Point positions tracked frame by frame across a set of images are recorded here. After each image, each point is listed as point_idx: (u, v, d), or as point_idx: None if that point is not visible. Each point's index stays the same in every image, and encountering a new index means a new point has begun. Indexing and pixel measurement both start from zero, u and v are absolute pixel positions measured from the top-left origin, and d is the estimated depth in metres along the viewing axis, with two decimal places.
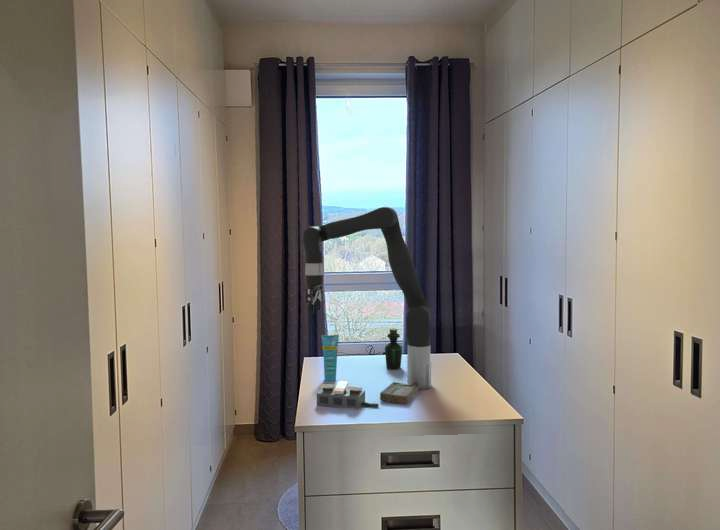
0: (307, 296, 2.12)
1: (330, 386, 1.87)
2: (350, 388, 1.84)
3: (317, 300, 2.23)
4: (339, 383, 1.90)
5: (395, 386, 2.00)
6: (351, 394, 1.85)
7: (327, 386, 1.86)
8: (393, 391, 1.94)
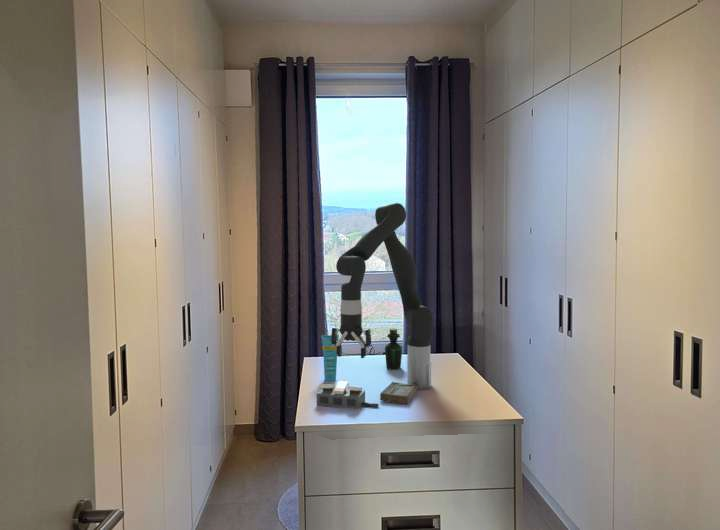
0: (369, 338, 1.81)
1: (330, 386, 1.87)
2: (350, 388, 1.84)
3: (340, 344, 1.84)
4: (339, 383, 1.90)
5: (394, 386, 2.00)
6: (351, 394, 1.85)
7: (327, 386, 1.86)
8: (393, 391, 1.94)
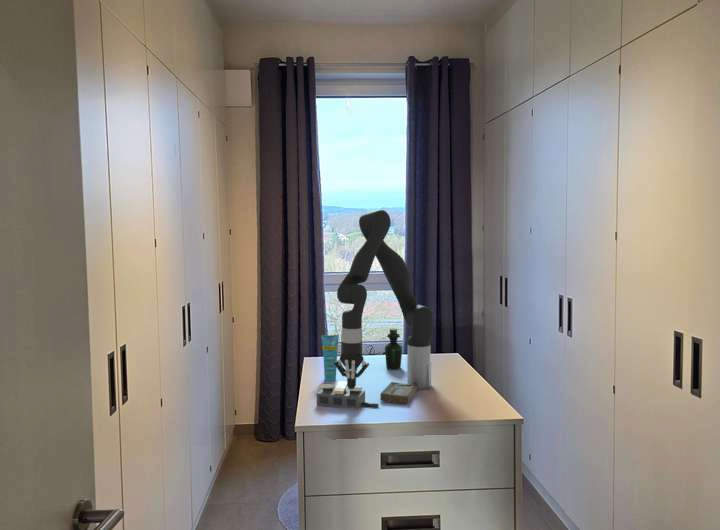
0: (363, 371, 1.81)
1: (330, 386, 1.87)
2: None
3: (350, 375, 1.83)
4: (339, 383, 1.90)
5: (394, 386, 2.00)
6: (351, 394, 1.85)
7: (327, 386, 1.86)
8: (393, 391, 1.93)
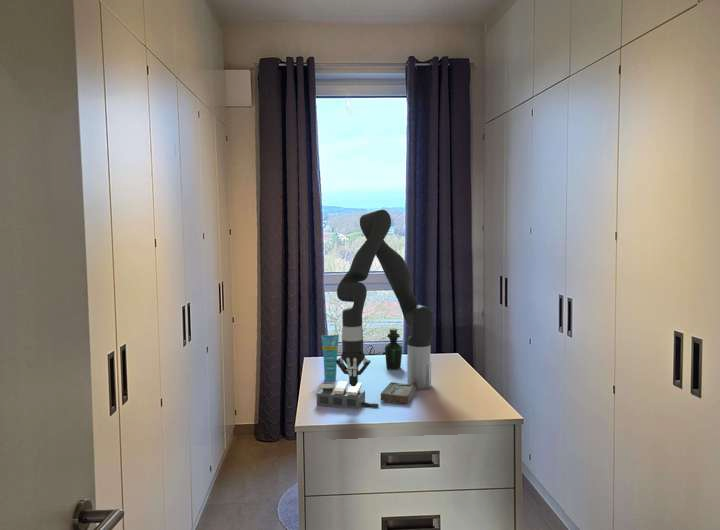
0: None
1: (330, 386, 1.87)
2: (350, 393, 1.84)
3: (352, 373, 1.83)
4: (339, 383, 1.90)
5: (393, 386, 2.00)
6: None
7: (327, 386, 1.86)
8: (393, 391, 1.93)
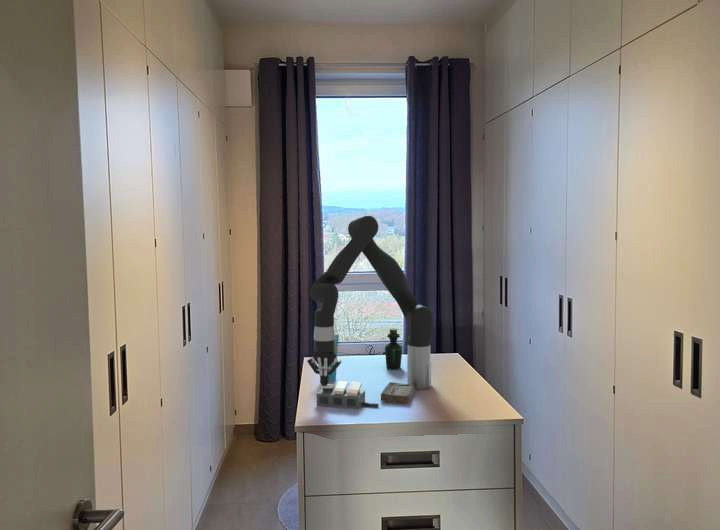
0: (335, 369, 1.85)
1: (330, 386, 1.87)
2: (350, 394, 1.84)
3: (323, 372, 1.86)
4: (339, 383, 1.90)
5: (393, 386, 2.00)
6: None
7: (327, 386, 1.86)
8: (393, 391, 1.93)
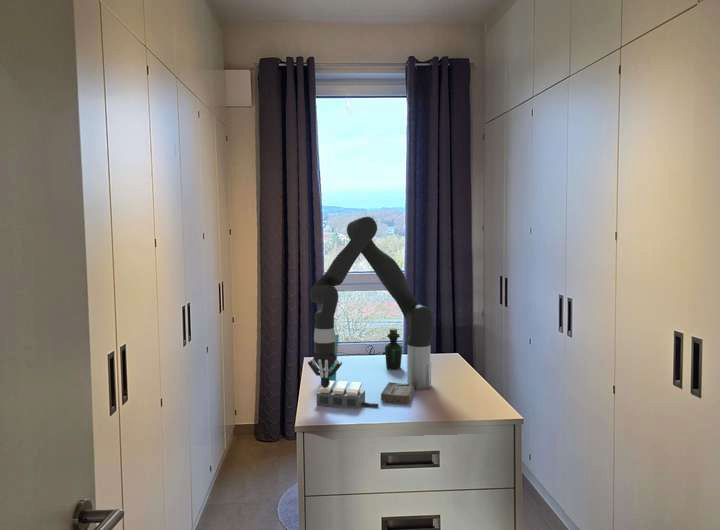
0: (336, 370, 1.85)
1: (330, 389, 1.87)
2: (350, 394, 1.84)
3: (324, 374, 1.86)
4: (339, 383, 1.90)
5: (392, 386, 2.00)
6: None
7: (326, 391, 1.86)
8: (393, 391, 1.93)
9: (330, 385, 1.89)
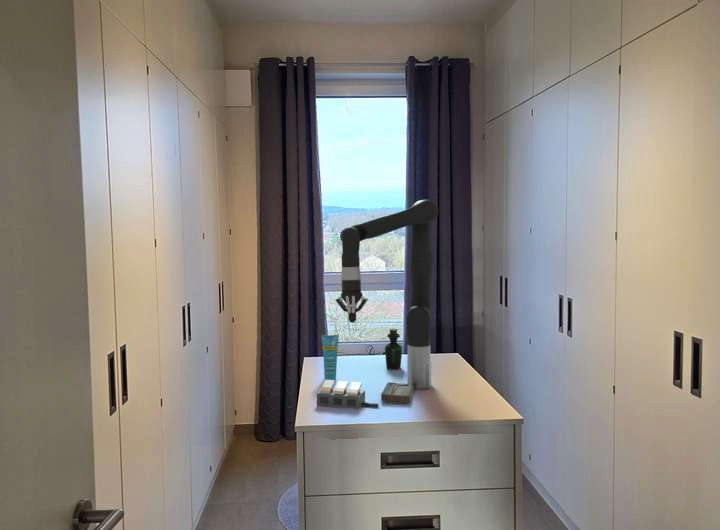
0: (362, 306, 2.00)
1: (330, 390, 1.87)
2: (350, 394, 1.84)
3: (351, 310, 2.02)
4: (339, 383, 1.90)
5: (392, 386, 2.00)
6: None
7: (326, 392, 1.86)
8: (393, 391, 1.93)
9: (330, 385, 1.89)
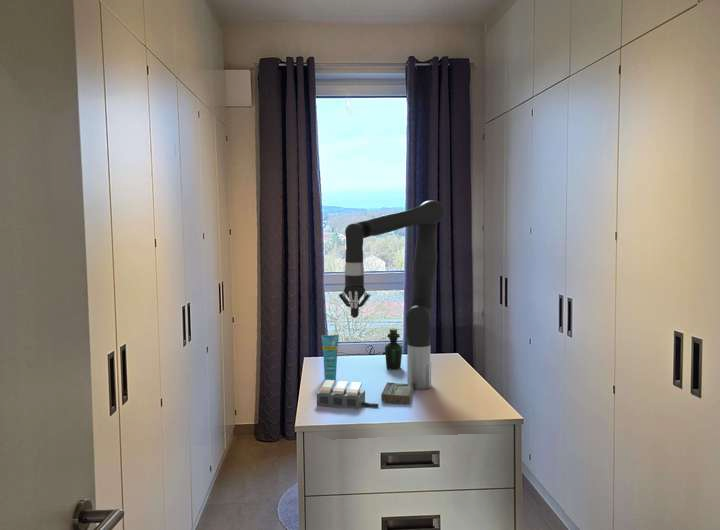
0: (365, 301, 2.02)
1: (330, 389, 1.87)
2: (350, 394, 1.84)
3: None
4: (339, 383, 1.90)
5: (391, 386, 2.00)
6: None
7: (326, 391, 1.86)
8: (393, 391, 1.93)
9: (330, 385, 1.89)
